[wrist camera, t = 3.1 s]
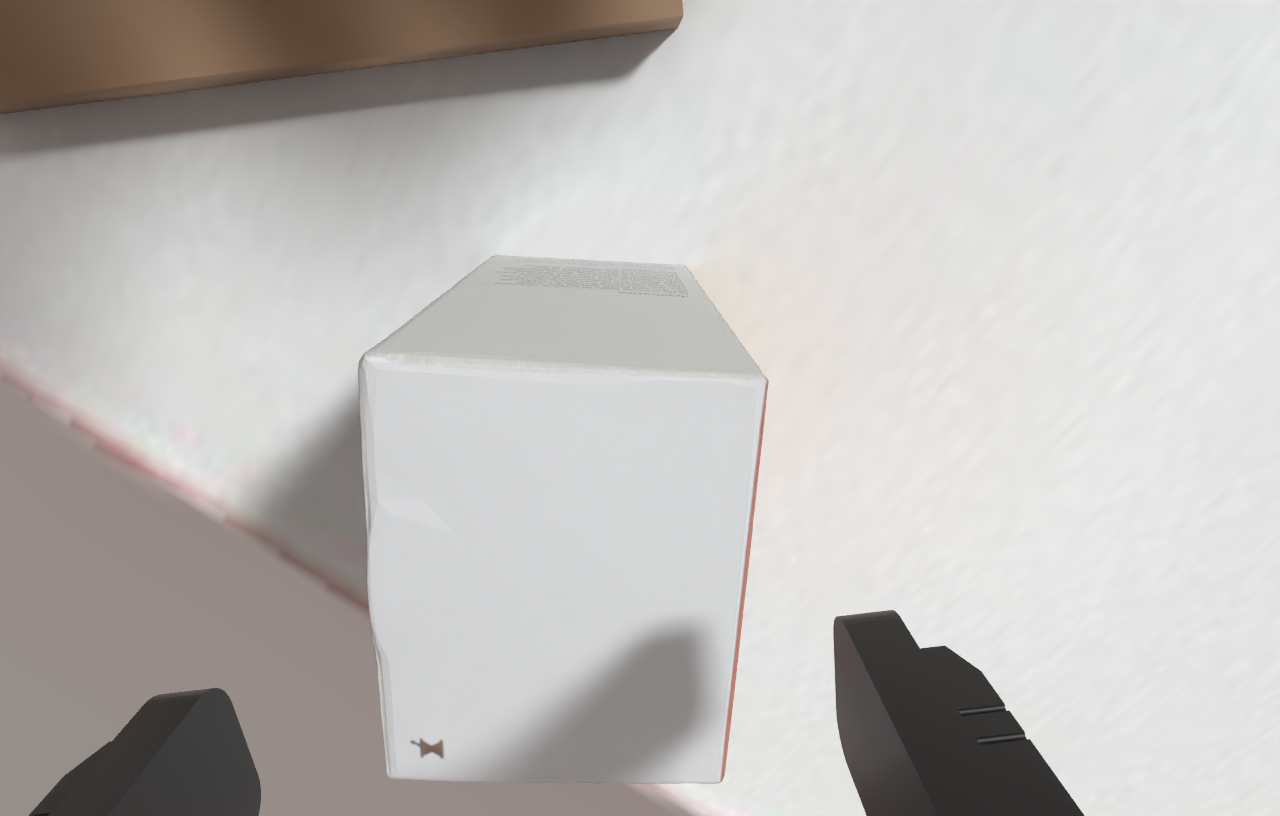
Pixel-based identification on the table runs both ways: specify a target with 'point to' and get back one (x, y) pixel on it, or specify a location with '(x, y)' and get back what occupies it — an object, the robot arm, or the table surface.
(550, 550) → the small box
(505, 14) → the base board
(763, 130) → the table surface
